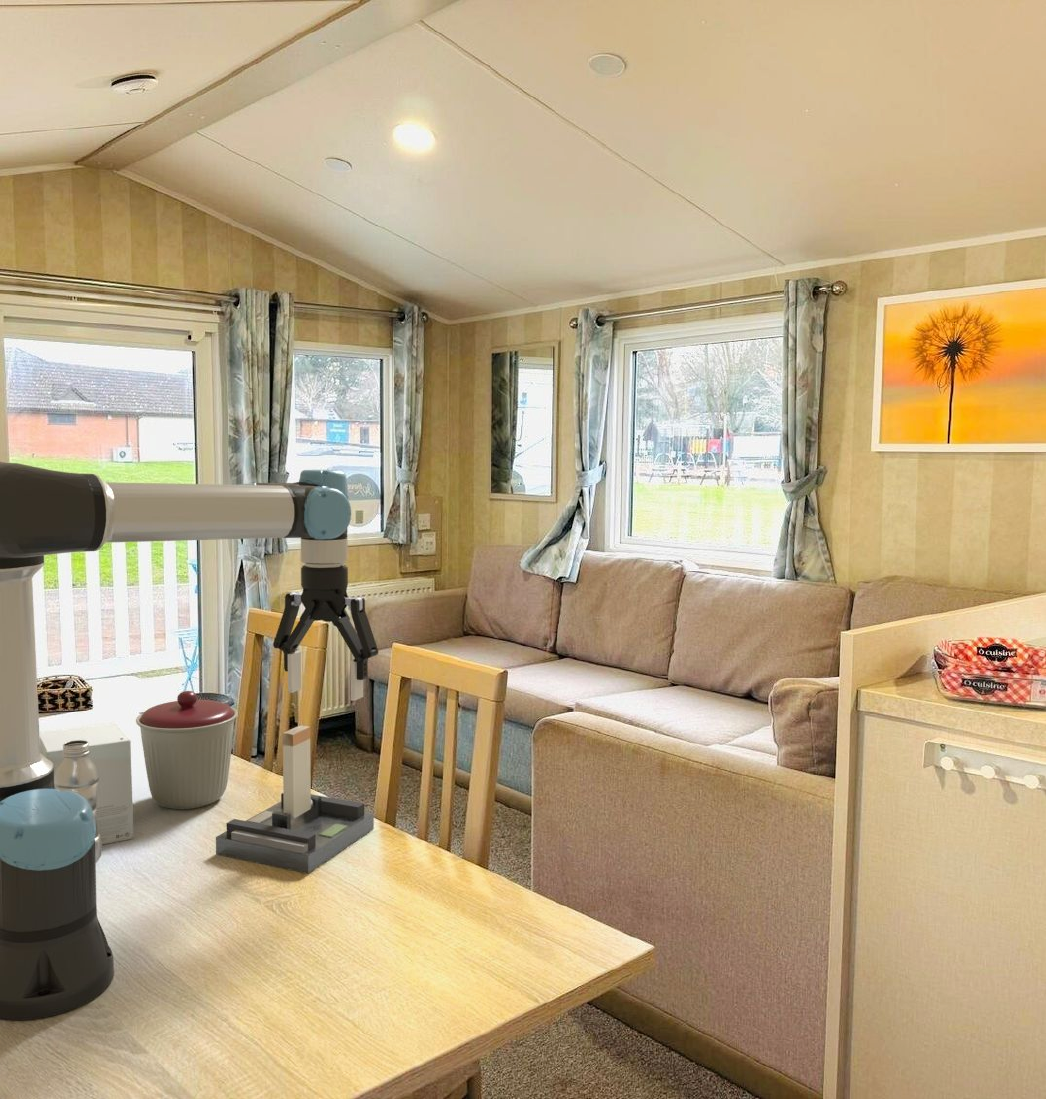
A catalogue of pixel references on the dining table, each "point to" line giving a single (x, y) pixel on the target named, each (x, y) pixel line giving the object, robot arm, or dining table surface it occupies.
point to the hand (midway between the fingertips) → (325, 694)
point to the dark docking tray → (287, 837)
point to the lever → (296, 771)
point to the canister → (187, 750)
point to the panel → (327, 828)
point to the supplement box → (101, 773)
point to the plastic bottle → (80, 779)
